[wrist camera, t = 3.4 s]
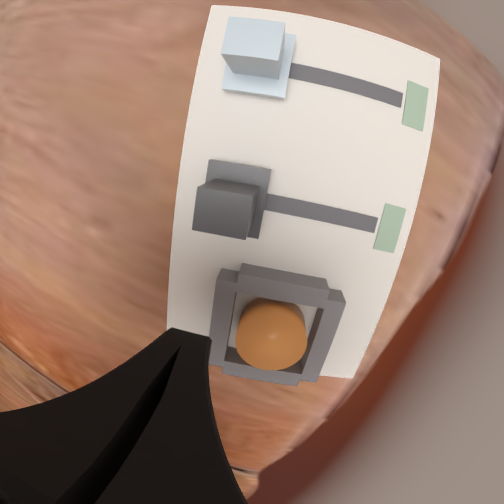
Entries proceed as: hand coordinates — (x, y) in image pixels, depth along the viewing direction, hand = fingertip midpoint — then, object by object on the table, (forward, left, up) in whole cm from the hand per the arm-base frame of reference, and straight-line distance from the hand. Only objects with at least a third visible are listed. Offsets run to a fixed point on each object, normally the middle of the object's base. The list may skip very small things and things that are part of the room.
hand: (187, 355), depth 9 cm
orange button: (-3, -3, -7) cm, 8 cm away
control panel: (+4, -3, -9) cm, 10 cm away
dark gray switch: (+4, 0, -7) cm, 8 cm away
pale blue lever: (+10, 0, -7) cm, 12 cm away
